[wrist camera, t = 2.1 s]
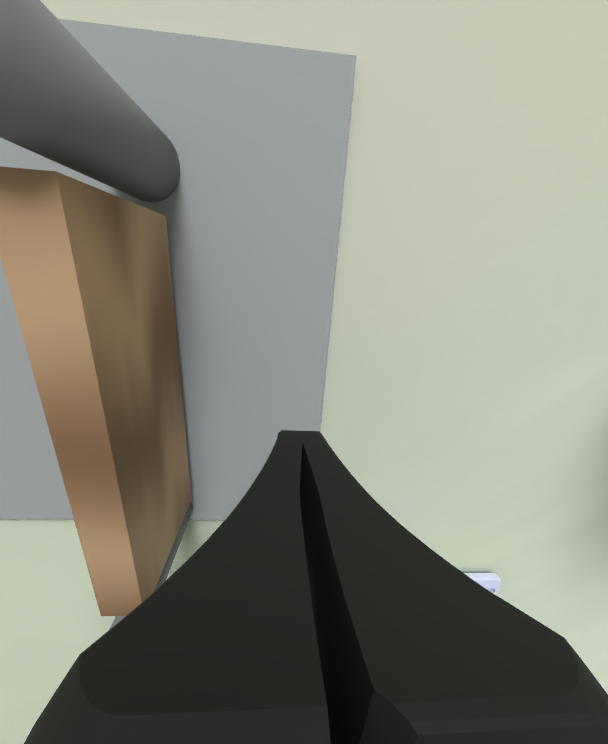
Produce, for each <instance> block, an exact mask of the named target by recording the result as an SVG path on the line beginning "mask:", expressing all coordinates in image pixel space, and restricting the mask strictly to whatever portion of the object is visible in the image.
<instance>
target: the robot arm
mask: <svg viewBox="0 0 608 744" xmlns="http://www.w3.org/2000/svg"><path fill="white" fill-rule="evenodd" d="M501 583H502V582H501V580H500V578H499V577H498V575H497V574H495V573H463V572H461V571H460V570H458V569H457V568H455V567H454V566H453V565H451V564H450V563H449V562H447V561H446V560H445V559H443V558H442V557H441V556H439V555H438V554H436V553H435V552H434V551H433V550H431V549H430V548H429V547H428V546H426V545H425V544H424V543H423V542H421V541H420V540H419V539H418V538H416V537H415V536H414V535H413V534H411V533H410V532H409V531H408V530H407V529H405V528H404V527H403V526H402V525H401V524H400V523H398V522H397V521H396V520H395V519H394V518H393V517H392V516H391V515H390V514H389V513H387V512H386V511H385V510H384V509H383V508H382V507H381V506H380V505H379V504H378V503H377V502H376V501H375V500H374V499H373V498H372V497H371V496H370V495H369V494H368V493H367V492H366V490H365V489H364V488H363V487H362V486H361V485H360V484H359V483H358V482H357V480H356V479H355V478H354V477H353V476H352V475H351V473H350V472H349V471H348V470H347V468H346V467H345V466H344V465H343V463H342V462H341V461H340V460H339V458H338V457H337V456H336V454H335V453H334V451H333V450H332V449H331V447H330V446H329V444H328V443H327V441H326V440H325V438H324V437H323V435H322V434H321V433H320V432H319V431H294V430H281V431H280V432H279V433H278V436H277V440H276V442H275V445H274V447H273V449H272V451H271V453H270V455H269V457H268V459H267V461H266V463H265V464H264V466H263V468H262V470H261V471H260V473H259V475H258V476H257V478H256V479H255V481H254V482H253V484H252V485H251V487H250V488H249V490H248V491H247V493H246V494H245V495H244V497H243V498H242V499H241V501H240V502H239V503H238V505H237V506H236V507H235V509H234V510H233V511H232V512H231V513H230V515H229V516H228V517H227V518H226V520H225V521H224V522H223V523H222V524H221V525H220V526H219V527H218V529H217V530H216V531H215V532H214V533H213V534H212V535H211V536H210V538H209V539H208V540H207V541H206V542H205V543H204V544H203V545H202V546H201V547H200V548H199V549H198V550H197V551H196V552H195V553H194V554H193V555H192V556H191V557H190V558H189V559H188V560H187V561H186V562H185V563H184V564H183V565H182V566H181V567H180V568H179V569H178V570H177V571H176V572H175V573H174V574H173V575H171V576H170V577H169V578H168V579H167V580H166V581H165V582H164V583H163V584H162V585H161V586H160V587H159V588H158V589H157V590H156V591H154V592H153V593H152V594H151V595H150V596H149V597H148V598H147V599H146V600H144V601H143V602H142V603H141V604H140V605H138V606H137V607H136V608H135V609H134V610H133V611H131V612H130V613H129V614H128V615H127V616H125V617H124V618H123V619H122V620H121V621H119V622H118V623H117V624H116V625H115V626H114V627H112V628H111V629H110V630H109V631H108V632H106V633H105V634H104V635H103V636H102V637H100V638H99V639H98V640H97V641H96V642H95V643H93V644H92V645H91V646H90V647H88V648H87V649H86V650H85V651H83V652H82V653H81V654H80V655H79V657H78V658H77V660H76V661H75V663H74V664H73V666H72V667H71V669H70V670H69V672H68V673H67V675H66V676H65V678H64V679H63V681H62V683H61V684H60V686H59V687H58V689H57V690H56V692H55V693H54V695H53V697H52V698H51V700H50V701H49V703H48V704H47V706H46V707H45V709H44V711H43V712H42V714H41V715H40V717H39V718H38V720H37V721H36V723H35V725H34V726H33V728H32V730H31V732H30V734H29V735H28V737H27V739H26V741H25V743H24V744H608V694H607V693H606V692H605V690H604V689H603V688H602V686H601V685H600V684H599V682H598V681H597V680H596V678H595V677H594V676H593V674H592V673H591V672H590V670H589V669H588V668H587V666H586V665H585V664H584V662H583V661H582V660H581V658H580V657H579V656H578V654H577V653H576V652H575V651H574V649H573V648H572V647H571V646H570V644H569V643H568V642H567V641H566V639H565V638H564V637H562V636H560V635H559V634H557V633H556V632H554V631H552V630H551V629H549V628H548V627H546V626H544V625H543V624H541V623H540V622H538V621H536V620H535V619H533V618H532V617H530V616H528V615H527V614H525V613H524V612H522V611H520V610H519V609H517V608H516V607H514V606H512V605H511V604H509V603H507V602H506V601H504V600H503V599H501V598H499V597H498V596H497V593H498V591H499V589H500V587H501Z"/></svg>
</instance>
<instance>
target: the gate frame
mask: <svg viewBox="0 0 608 744" xmlns="http://www.w3.org/2000/svg"><path fill="white" fill-rule="evenodd" d="M355 64H356V56H353V55H345V54H337V53H329V52H321V51H313V50H305V49H297V48H289V47H281V46H273V45H265V44H257V43H248V42H240V41H232V40H224V39H216V38H208V37H200V36H192V35H184V34H176V33H168V32H160V31H152V30H144V29H136V28H128V27H120V26H112V25H104V24H96V23H88V22H79V21H71V20H63V19H57V18H56V17H55V16H54V15H53V14H52V13H51V12H50V11H49V10H48V9H47V7H46V6H45V5H44V4H43V3H42V2H41V1H40V0H0V166H1V167H13V168H24V169H36V170H47V171H56V172H59V173H61V174H64V175H66V176H69V177H71V178H74V179H76V180H79V181H81V182H83V183H86V184H88V185H91V186H93V187H96V188H98V189H101V190H103V191H105V192H108V193H110V194H113V195H115V196H118V197H120V198H123V199H125V200H128V201H130V202H132V203H135V204H137V205H140V206H142V207H145V208H147V209H150V210H152V211H155V212H157V213H159V214H162V215H164V216H166V223H167V234H168V245H169V256H170V267H171V278H172V289H173V300H174V311H175V322H176V333H177V344H178V355H179V366H180V378H181V389H182V400H183V411H184V422H185V433H186V444H187V455H188V466H189V477H190V488H191V499H192V500H191V502H190V505H189V507H188V510H187V512H186V515H185V517H184V520H183V522H182V524H181V527H180V529H179V532H178V534H177V537H176V539H175V541H174V544H173V546H172V549H171V551H170V554H169V556H168V559H167V561H166V563H165V566H164V568H163V571H162V573H161V576H160V578H159V581H158V583H157V585H156V588H155V590H154V591H156V590H157V589H158V588H159V587H160V586H161V585H162V584H163V583H164V582H165V580H166V578H167V575H168V573H169V570H170V567H171V565H172V562H173V560H174V557H175V554H176V552H177V549H178V547H179V544H180V542H181V539H182V536H183V534H184V531H185V529H186V526H187V524H188V521H189V520H226V518H227V517H228V516H229V515H230V513H231V512H232V511H233V510H234V509H235V507H236V506H237V505H238V503H239V502H240V501H241V499H242V498H243V497H244V495H245V494H246V493H247V491H248V490H249V488H250V487H251V485H252V484H253V482H254V481H255V479H256V478H257V476H258V475H259V473H260V471H261V470H262V468H263V466H264V464H265V463H266V461H267V459H268V457H269V455H270V453H271V451H272V449H273V447H274V445H275V442H276V440H277V436H278V433H279V432H280V431H281V430H294V431H319V432H320V426H321V416H322V405H323V395H324V385H325V374H326V364H327V354H328V343H329V333H330V323H331V312H332V302H333V292H334V281H335V271H336V261H337V250H338V240H339V230H340V219H341V209H342V199H343V188H344V178H345V168H346V157H347V147H348V136H349V126H350V116H351V105H352V95H353V85H354V74H355ZM0 519H74V517H73V514H72V510H71V507H70V503H69V499H68V496H67V492H66V489H65V485H64V482H63V478H62V474H61V471H60V467H59V464H58V460H57V457H56V453H55V449H54V446H53V442H52V439H51V435H50V432H49V428H48V424H47V421H46V417H45V414H44V410H43V407H42V403H41V399H40V396H39V392H38V389H37V385H36V382H35V378H34V374H33V371H32V367H31V364H30V360H29V357H28V353H27V349H26V346H25V342H24V339H23V335H22V332H21V328H20V325H19V321H18V317H17V314H16V310H15V307H14V303H13V300H12V296H11V292H10V289H9V285H8V282H7V278H6V275H5V271H4V267H3V264H2V260H1V257H0ZM124 617H125V616H116V617H115V619H114V622H113V624H112V626H111V628H112V627H114V626H115V625H116V624H117V623H118V622H119V621H121V620H122V619H123V618H124ZM111 628H110V629H111Z"/></svg>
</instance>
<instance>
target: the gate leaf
mask: <svg viewBox="0 0 608 744" xmlns="http://www.w3.org/2000/svg"><path fill="white" fill-rule="evenodd" d="M0 257H1V260H2V264H3V267H4V271H5V275H6V278H7V282H8V285H9V289H10V292H11V296H12V300H13V303H14V307H15V310H16V314H17V317H18V321H19V325H20V328H21V332H22V335H23V339H24V342H25V346H26V349H27V353H28V357H29V360H30V364H31V367H32V371H33V374H34V378H35V382H36V385H37V389H38V392H39V396H40V399H41V403H42V407H43V410H44V414H45V417H46V421H47V424H48V428H49V432H50V435H51V439H52V442H53V446H54V449H55V453H56V457H57V460H58V464H59V467H60V471H61V474H62V478H63V482H64V485H65V489H66V492H67V496H68V499H69V503H70V507H71V510H72V514H73V517H74V521H75V524H76V528H77V532H78V535H79V539H80V542H81V546H82V549H83V553H84V557H85V560H86V564H87V567H88V571H89V574H90V578H91V582H92V585H93V589H94V592H95V596H96V599H97V603H98V607H99V610H100V614H101V616H127V615H128V614H129V613H130V612H131V611H133V610H134V609H135V608H136V607H137V606H138V605H140V604H141V603H142V602H143V601H144V600H146V599H147V598H148V597H149V596H150V595H151V594H152V593H153V592H154V590H155V588H156V585H157V583H158V581H159V578H160V576H161V573H162V571H163V568H164V566H165V563H166V561H167V559H168V556H169V554H170V551H171V549H172V546H173V544H174V541H175V539H176V537H177V534H178V532H179V529H180V527H181V524H182V522H183V520H184V517H185V515H186V512H187V510H188V507H189V505H190V502H191V500H192V499H191V488H190V477H189V466H188V455H187V444H186V433H185V422H184V411H183V400H182V389H181V378H180V366H179V355H178V344H177V333H176V322H175V311H174V300H173V289H172V278H171V267H170V256H169V245H168V234H167V223H166V216H164V215H162V214H159V213H157V212H155V211H152V210H150V209H147V208H145V207H142V206H140V205H137V204H135V203H132V202H130V201H128V200H125V199H123V198H120V197H118V196H115V195H113V194H110V193H108V192H105V191H103V190H101V189H98V188H96V187H93V186H91V185H88V184H86V183H83V182H81V181H79V180H76V179H74V178H71V177H69V176H66V175H64V174H61V173H59V172H56V171H47V170H36V169H24V168H13V167H1V166H0Z"/></svg>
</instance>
